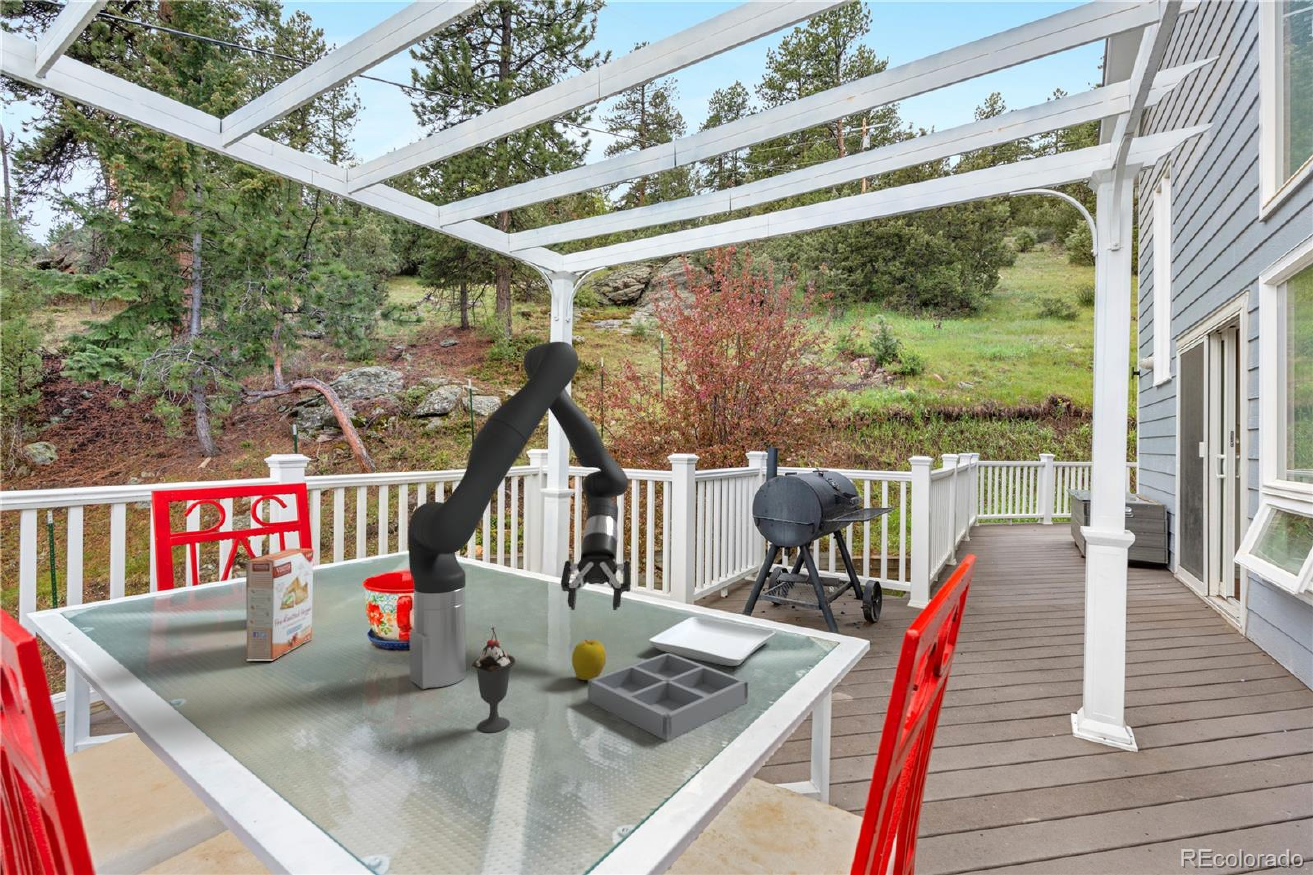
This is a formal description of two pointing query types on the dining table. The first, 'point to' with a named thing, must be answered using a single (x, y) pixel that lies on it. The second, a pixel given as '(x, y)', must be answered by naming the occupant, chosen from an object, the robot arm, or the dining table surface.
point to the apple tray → (667, 694)
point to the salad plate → (712, 640)
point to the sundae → (493, 682)
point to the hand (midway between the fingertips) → (593, 608)
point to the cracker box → (279, 602)
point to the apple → (588, 659)
